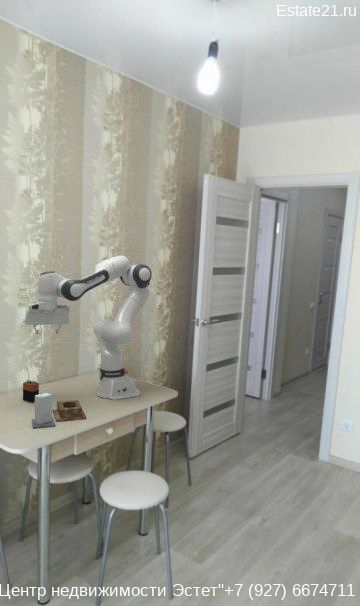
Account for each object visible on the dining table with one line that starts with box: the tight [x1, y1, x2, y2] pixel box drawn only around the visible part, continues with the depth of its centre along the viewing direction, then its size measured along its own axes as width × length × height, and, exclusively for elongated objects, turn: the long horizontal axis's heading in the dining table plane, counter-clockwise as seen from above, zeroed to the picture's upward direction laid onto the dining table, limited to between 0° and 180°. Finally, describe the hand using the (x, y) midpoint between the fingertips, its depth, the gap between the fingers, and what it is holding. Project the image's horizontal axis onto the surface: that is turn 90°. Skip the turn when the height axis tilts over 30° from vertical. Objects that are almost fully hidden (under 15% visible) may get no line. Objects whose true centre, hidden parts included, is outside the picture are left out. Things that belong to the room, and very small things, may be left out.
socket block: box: [52, 399, 87, 423], centre depth 205 cm, size 13×13×5 cm
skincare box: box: [34, 392, 53, 424], centre depth 193 cm, size 6×4×12 cm
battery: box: [22, 379, 40, 404], centre depth 222 cm, size 4×7×10 cm, turn 64°
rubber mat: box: [31, 416, 56, 430], centre depth 194 cm, size 9×9×1 cm
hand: (47, 333), depth 217 cm, fingers open, 8 cm apart
